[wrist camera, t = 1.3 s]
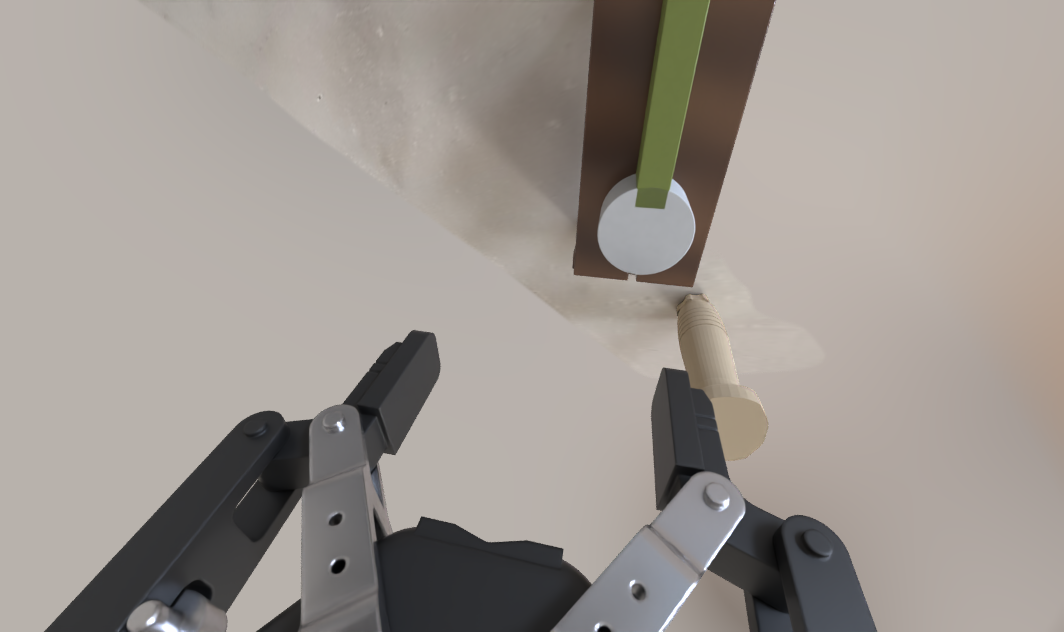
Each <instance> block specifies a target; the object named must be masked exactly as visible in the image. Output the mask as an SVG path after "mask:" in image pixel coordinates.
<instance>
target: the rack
mask: <svg viewBox="0 0 1064 632" xmlns="http://www.w3.org/2000/svg"><path fill="white" fill-rule="evenodd" d="M775 3H776V0H710V3H709V8H708V13H707V17H706V22H705V27H704V32H703V36H702V41H701V46H700V50H699V55H698V60H697V64H696V69H695V74H694V79H693V83H692V88H691V93H690V97H689V102H688V107H687V112H686V116H685V121H684V126H683V130H682V135H681V140H680V144H679V149H678V154H677V159H676V163H675V168H674V173H673V177H672V179H673V180H674V181H676V182H677V183H678V184H679V185H680V186H681V187H682V189H683V190H684V192H685V194H686V196H687V199H688V201H689V204H690V207H691V210H692V212H693V215H694V219H695V234H694V239H693V242H692V244H691V246H690V248H689V250H688V251H687V253H686V254H685V255H684V256H683V257H682V259H681V260H679V261H678V262H677V263H676V264H674V265H673V266H672V267H670V268H668V269H666V270H664V271H661V272H658V273H654V274H648V275H637V274H633V275H636V281H637V282H647V283H657V284H666V285H676V286H686V287H693V285H694V281H695V278H696V274H697V271H698V267H699V264H700V260H701V257H702V254H703V250H704V247H705V243H706V239H707V236H708V233H709V229H710V226H711V223H712V219H713V216H714V212H715V209H716V205H717V202H718V198H719V195H720V192H721V188H722V185H723V181H724V178H725V174H726V171H727V168H728V164H729V161H730V157H731V154H732V150H733V147H734V144H735V140H736V137H737V133H738V130H739V126H740V123H741V119H742V116H743V113H744V109H745V106H746V102H747V99H748V95H749V92H750V89H751V85H752V82H753V78H754V75H755V71H756V68H757V64H758V61H759V58H760V54H761V51H762V47H763V43H764V40H765V37H766V33H767V30H768V27H769V23H770V20H771V16H772V13H773V9H774V6H775ZM662 4H663V0H594V8H593V21H592V35H591V48H590V61H589V75H588V88H587V102H586V115H585V128H584V142H583V155H582V168H581V182H580V195H579V209H578V222H577V235H576V246H575V249H574V254H573V269H574V275H580V276H590V277H599V278H609V279H619V280H627V279H628V274H631V273H627V272H624V271H622V270H620V269H618V268H616V267H615V266H614V265H612V264H611V263H610V262H609V261H608V260H607V259H606V258H605V256H604V255H603V253H602V251H601V249H600V247H599V243H598V236H597V232H598V224H599V219H600V213H601V207H602V204H603V201H604V199H605V197H606V196H607V194H608V193H609V191H610V190H611V189H612V188H613V187H614V186H615V185H616V184H617V183H618V182H620V181H621V180H623V179H625V178H626V177H628V176H631V175H634V174H636V170H637V164H638V157H639V151H640V144H641V138H642V132H643V125H644V119H645V112H646V106H647V100H648V93H649V87H650V81H651V74H652V68H653V61H654V55H655V49H656V42H657V36H658V29H659V23H660V17H661V10H662Z"/></svg>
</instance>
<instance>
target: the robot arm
mask: <svg viewBox="0 0 1064 632" xmlns="http://www.w3.org/2000/svg"><path fill="white" fill-rule="evenodd" d="M439 373H440V359H439V354H438V348H437V342H436V337H435V335H434V333H430V332H423V331H416V330H413V331H411V332H410V333H409V334H408V336H407V337H406V338H405V340H404V341H403V343H401V342H396V343H395V344H393V345H392V346H390V347H389V348H387V349H386V350H384V352H383V353H382V354H381V355H380V357H379V358H378V359H377V360H376V363H374V364H373V366H372V367H371V368H370V370H369V372H367V373H366V375H365V376H364V377H363V378H362V380H361V381H360V382H359V383H358V385H357V386H356V387H355V389H354V390H353V391H352V392H351V394H350V395H349V396H348V398H347V399H346V400H345V401H344V403H343V404H341V405H335V406H332V407H329V408H327V409H325V410H323V411H322V412H320V413H319V414H318V415H317V416H316V417H315V418H314V419H310V420H300V421H290V422H285V420H284V418H283V417H282V415H281V414H280V413H278V412H275V411H263V412H259V413H256V414H253V415H251V416H249V417H247V418H246V419H244V420H243V421H241V422H240V423H239V424H238V425H237V426H236V427H235V428H234V429H233V430H232V431H231V432H230V433H229V434H228V435H227V436H226V437H225V438H224V440H223V441H222V442H221V443H220V444H219V445H218V446H217V447H216V448H215V449H214V450H213V451H212V452H211V454H209V456H208V457H207V458H206V459H205V460H204V461H203V462H202V463H201V464H200V465H199V466H198V467H197V468H196V470H195V471H194V472H193V473H192V474H191V475H190V476H189V477H188V478H187V479H186V480H185V481H184V482H183V483H182V484H181V486H180V487H179V488H178V489H177V490H176V491H175V492H174V493H173V494H172V495H171V496H170V498H169V499H167V501H166V502H165V503H164V504H163V505H162V506H161V507H160V508H159V509H158V510H157V512H155V513H154V515H153V516H152V517H151V518H150V519H149V520H148V521H147V522H146V523H145V524H144V525H143V526H142V527H141V528H140V530H139V531H138V532H137V533H136V534H135V535H134V536H133V537H132V538H131V539H130V540H129V541H128V542H127V544H126V545H125V546H124V547H123V548H122V549H121V550H120V551H119V552H118V553H117V554H116V555H115V556H114V557H113V558H112V560H111V561H110V562H109V563H108V564H107V565H106V566H105V567H104V568H103V569H102V570H101V571H100V572H99V574H98V575H97V576H96V577H95V578H94V579H93V580H92V581H91V582H90V583H89V584H88V585H87V586H86V587H85V589H84V590H83V591H82V592H81V593H80V594H79V595H78V596H77V597H76V598H75V599H74V601H72V602H71V603H70V605H69V606H68V607H67V608H66V609H65V610H64V611H63V612H62V613H61V614H60V615H59V616H58V617H57V619H56V620H55V621H54V622H53V623H52V624H51V625H50V626H49V627H48V628H47V629H46V630H45V631H44V632H226V630H227V616H226V612H227V611H228V609H229V608H230V606H231V605H232V603H233V601H234V600H235V598H236V597H237V595H238V594H239V592H240V591H241V589H242V588H243V586H244V585H245V583H246V581H247V580H248V578H249V577H250V575H251V574H252V572H253V571H254V569H255V568H256V566H257V565H258V563H259V561H260V560H261V558H262V557H263V555H264V554H265V552H266V551H267V549H268V547H269V546H270V544H271V543H272V541H273V540H274V538H275V537H276V535H277V534H278V532H279V531H280V529H281V527H282V526H283V524H284V523H285V521H286V520H287V518H288V517H289V515H290V514H291V512H292V510H293V509H294V507H295V506H296V504H297V503H298V501H299V500H300V498H301V497H302V539H301V540H302V542H301V545H302V546H301V599H299V600H298V601H297V602H295V603H294V604H293V605H291V606H290V607H289V608H287V609H286V610H285V611H283V612H282V613H281V614H279V615H278V616H276V617H275V618H274V619H272V620H271V621H270V622H268V623H267V624H266V625H264V626H263V627H262V628H260V629H259V630H258V631H256V632H664V631H665V630H666V628H667V627H668V625H669V624H670V622H671V621H672V619H673V618H674V617H675V615H676V614H677V612H678V611H679V609H680V608H681V606H682V604H683V603H684V602H685V600H686V599H687V597H688V596H689V595H690V593H691V591H692V590H693V589H694V587H695V586H696V584H697V583H698V582H699V580H700V579H701V577H702V575H703V574H704V572H705V571H706V570H707V569H708V570H710V571H711V572H713V573H715V574H717V575H718V576H720V577H722V578H724V579H725V580H727V581H729V582H731V583H732V584H734V585H736V586H738V587H739V588H741V589H743V590H744V596H745V602H746V609H747V616H748V622H749V629H750V632H877V630H876V627H875V624H874V621H873V619H872V616H871V613H870V611H869V608H868V605H867V602H866V600H865V597H864V594H863V591H862V589H861V586H860V583H859V581H858V578H857V575H856V572H855V569H854V567H853V564H852V561H851V559H850V556H849V553H848V551H847V549H846V547H845V545H844V544H843V542H842V541H841V540H840V538H839V537H838V536H837V535H836V534H835V533H834V532H833V531H832V530H831V529H830V528H828V527H827V526H825V525H824V524H823V523H821V522H819V521H817V520H816V519H813V518H810V517H807V516H803V515H794V516H791V517H788V518H787V519H786V520H783V519H780V518H778V517H776V516H774V515H772V514H770V513H768V512H766V511H764V510H762V509H760V508H758V507H756V506H754V505H752V504H751V503H750V502H748V501H747V500H746V499H745V498H743V496H742V494H741V492H740V491H739V490H738V488H737V487H736V486H735V485H734V484H733V483H732V482H731V481H730V478H729V475H728V471H727V467H726V462H725V458H724V453H723V449H722V444H721V440H720V435H719V432H718V427H717V422H716V420H715V413H714V409H713V404H712V402H711V401H710V399H709V398H708V396H707V395H706V394H705V392H704V391H703V390H702V389H696V388H691V386H690V381H689V375H688V372H687V371H683V370H676V369H670V368H663V369H662V371H661V374H660V378H659V381H658V384H657V388H656V391H655V394H654V398H653V402H652V410H651V421H652V439H653V455H654V473H655V491H656V508H657V510H661V511H662V512H661V513H660V514H659V515H658V516H657V517H656V519H655V520H654V521H653V522H652V523H651V524H650V525H645V526H644V527H643V528H642V529H641V530H640V531H639V532H638V533H637V534H636V535H635V536H634V537H633V539H632V540H631V541H630V542H629V543H628V544H627V545H626V546H625V548H624V549H623V550H622V551H621V552H620V553H619V554H618V556H617V557H616V558H615V559H614V560H613V561H612V562H611V564H610V565H609V566H608V567H607V568H606V569H605V570H604V572H603V573H602V574H601V575H600V576H599V577H598V578H597V580H596V581H595V582H594V583H593V584H591V583H590V582H589V581H588V579H587V578H586V577H585V576H584V575H583V574H582V573H581V572H580V571H579V570H577V569H576V568H575V567H573V566H572V565H571V564H569V563H568V562H566V561H564V560H562V556H563V549H562V548H558V547H553V546H549V545H544V544H540V543H536V542H531V541H509V542H492V543H491V542H486V541H484V540H482V539H480V538H478V537H476V536H475V535H473V534H471V533H469V532H468V531H466V530H464V529H463V528H461V527H459V526H457V525H456V524H452V523H448V522H443V521H439V520H435V519H431V518H426V517H421V518H420V521H419V523H418V525H417V527H412V528H407V529H403V530H400V531H397V532H395V533H393V532H392V528H391V525H390V521H389V518H388V513H387V508H386V502H385V497H384V491H383V485H382V479H381V473H380V467H379V463H378V461H379V459H380V458H381V456H382V454H383V453H387V454H392V455H395V454H396V453H397V451H398V449H399V448H400V446H401V444H402V442H403V440H404V439H405V437H406V435H407V433H408V431H409V430H410V428H411V426H412V424H413V422H414V420H415V419H416V417H417V415H418V414H419V412H420V410H421V408H422V406H423V405H424V403H425V401H426V399H427V398H428V396H429V394H430V392H431V390H432V388H433V387H434V384H435V383H436V381H437V379H438V377H439ZM257 479H258V480H257ZM256 480H257V482H256V483H255V481H256ZM254 483H255V484H254ZM253 484H254V486H253V487H252V488H251V486H252V485H253ZM250 488H251V489H250ZM249 489H250V491H249V492H248V490H249ZM247 492H248V493H247ZM246 493H247V495H246V496H245V497H244V495H245V494H246ZM243 497H244V499H243V500H242V501H241V499H242V498H243ZM240 501H241V502H240ZM239 502H240V504H239V505H238V503H239ZM237 505H238V506H237ZM236 507H237V508H236ZM235 508H236V509H235Z"/></svg>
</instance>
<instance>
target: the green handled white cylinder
mask: <svg viewBox="0 0 1064 632" xmlns="http://www.w3.org/2000/svg"><path fill="white" fill-rule="evenodd" d="M709 3H710V0H663V4H662V10H661V17H660V23H659V29H658V36H657V42H656V49H655V55H654V61H653V68H652V74H651V81H650V87H649V93H648V100H647V106H646V112H645V119H644V125H643V132H642V138H641V144H640V151H639V157H638V164H637V170H636V174H634V175H631V176H628V177H626V178H625V179H623V180H621V181H620V182H618V183H617V184H616V185H615V186H614V187H613V188H612V189H611V190H610V191H609V193H608V194H607V196H606V197H605V199H604V201H603V204H602V207H601V213H600V219H599V224H598V232H597V236H598V243H599V247H600V249H601V251H602V253H603V255H604V256H605V258H606V259H607V260H608V261H609V262H610V263H611V264H612V265H614V266H615V267H616V268H618V269H620V270H622V271H624V272H627V273H631V274H637V275H648V274H654V273H658V272H661V271H664V270H666V269H668V268H670V267H672V266H673V265H674V264H676V263H677V262H678V261H679V260H681V259H682V257H683V256H684V255H685V254H686V253H687V251H688V250H689V248H690V246H691V244H692V242H693V239H694V234H695V219H694V215H693V212H692V210H691V207H690V204H689V201H688V199H687V196H686V194H685V192H684V190H683V189H682V187H681V186H680V185H679V184H678V183H677V182H676V181H674V180H673V179H672V177H673V173H674V168H675V163H676V159H677V154H678V149H679V144H680V140H681V135H682V130H683V126H684V121H685V116H686V112H687V107H688V102H689V97H690V93H691V88H692V83H693V79H694V74H695V69H696V64H697V60H698V55H699V50H700V46H701V41H702V36H703V32H704V27H705V22H706V17H707V13H708V8H709Z"/></svg>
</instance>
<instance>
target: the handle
mask: <svg viewBox="0 0 1064 632" xmlns="http://www.w3.org/2000/svg"><path fill="white" fill-rule="evenodd" d="M677 316H678V322H677V325H678V339H679V345H680V350H681V354H682V358H683V362H684V365H685V369H686V371H687V372H688V375H689V381H690V386H691V388H696V389H702V390H703V391H704V392H705V394H706V395H707V396H708V398H709V399H710V401H711V402H712V404H713V409H714V413H715V420H716V422H717V427H718V432H719V435H720V440H721V444H722V449H723V453H724V458H725V461H735V460H741V459H744V458H747V457H748V456H749V455H751V454H752V453H753V452H754V451H755V450H757V449H758V448H759V447H760V446H761V444H763V442H764V440H765V437H766V433H767V430H768V420H767V417H766V414H765V411H764V409H763V407H762V404H761V402H760V400H759V398H758V396H757V394H756V393H755V391H754V390H752V389H750V388H748V387H745V386H741V385H739V381H738V377H737V372H736V368H735V364H734V360H733V355H732V351H731V346H730V342H729V338H728V335H727V332H726V329H725V327H724V324H723V322H722V320H721V318H720V316H719V314H718V312H717V311H716V309H715V307H714V306H713V304H711V303H710V302H709V299H708V297H707V296H706V295H704V294H700V295H691V294H689V295H686V297H685V299H684V301H683V302H682V303H680V304H679V305H678V307H677Z"/></svg>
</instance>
